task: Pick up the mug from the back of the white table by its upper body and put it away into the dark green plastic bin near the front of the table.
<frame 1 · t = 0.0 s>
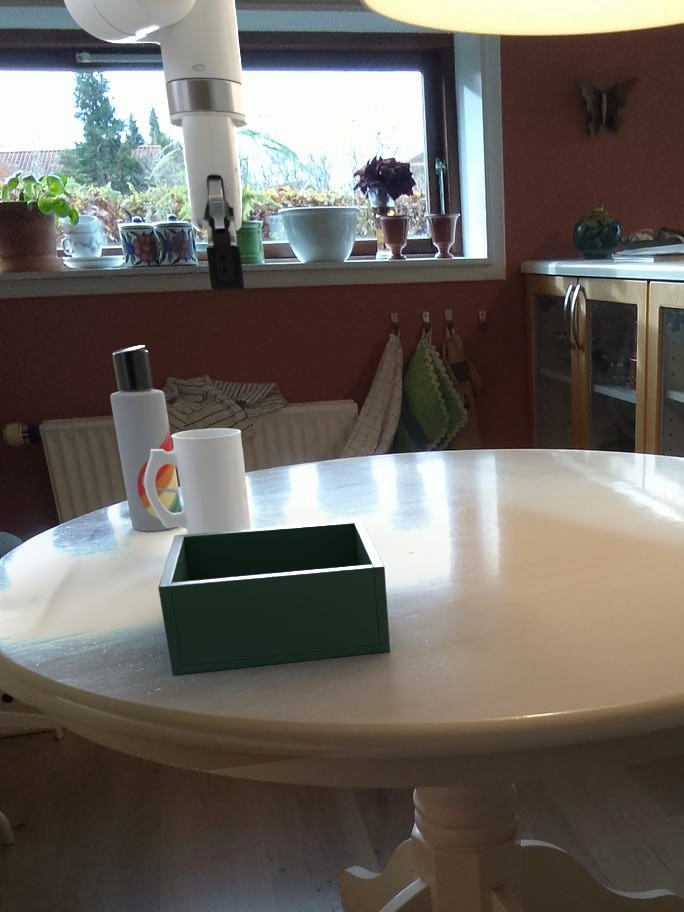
hand: (228, 289, 99), 25 cm above the table, tool pointing down, fingers open, 9 cm apart
lotion bottle: (158, 527, 108), on the table
mug: (206, 551, 97), on the table
bin: (281, 629, 74), on the table
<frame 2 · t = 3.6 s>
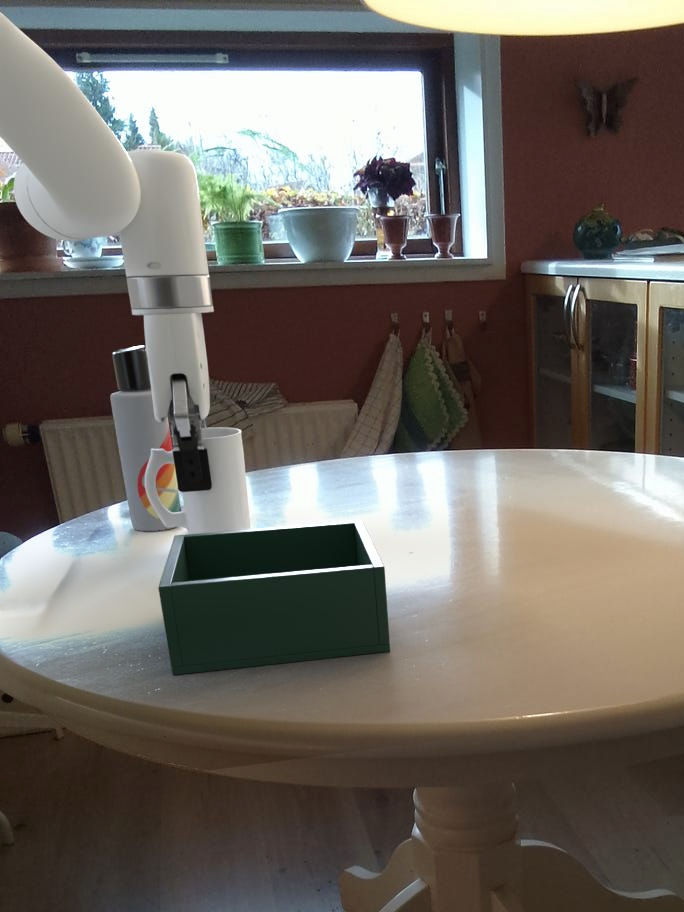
hand: (197, 481, 94), 7 cm above the table, tool pointing down, fingers closed on mug, 6 cm apart
mug: (206, 551, 97), on the table, touching gripper
everything else where it was.
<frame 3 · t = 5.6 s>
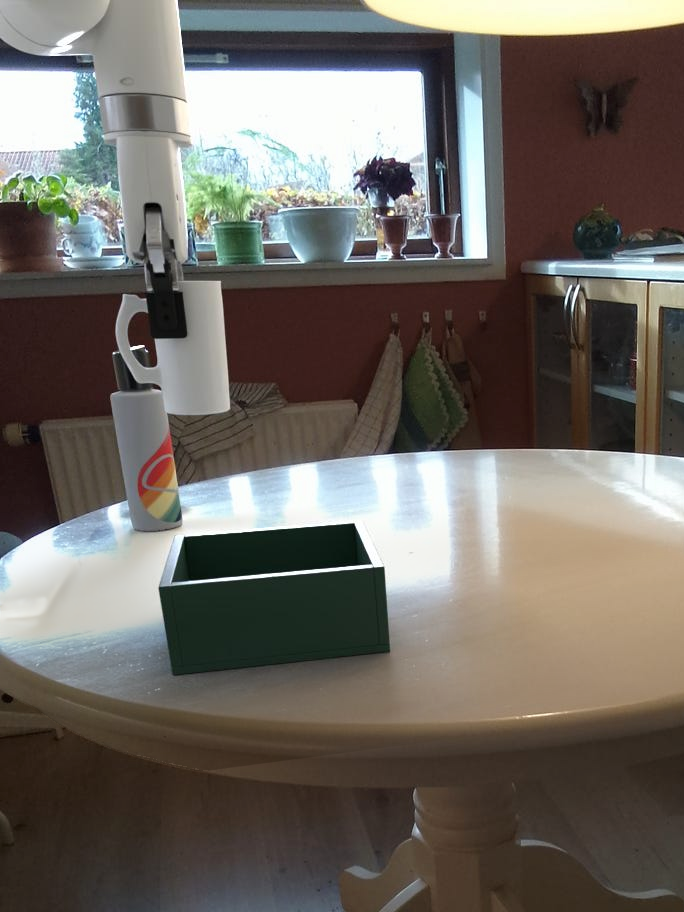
hand: (172, 335, 88), 22 cm above the table, tool pointing down, fingers closed on mug, 6 cm apart
mug: (181, 413, 91), point 14 cm above the table, touching gripper
everything else where it was.
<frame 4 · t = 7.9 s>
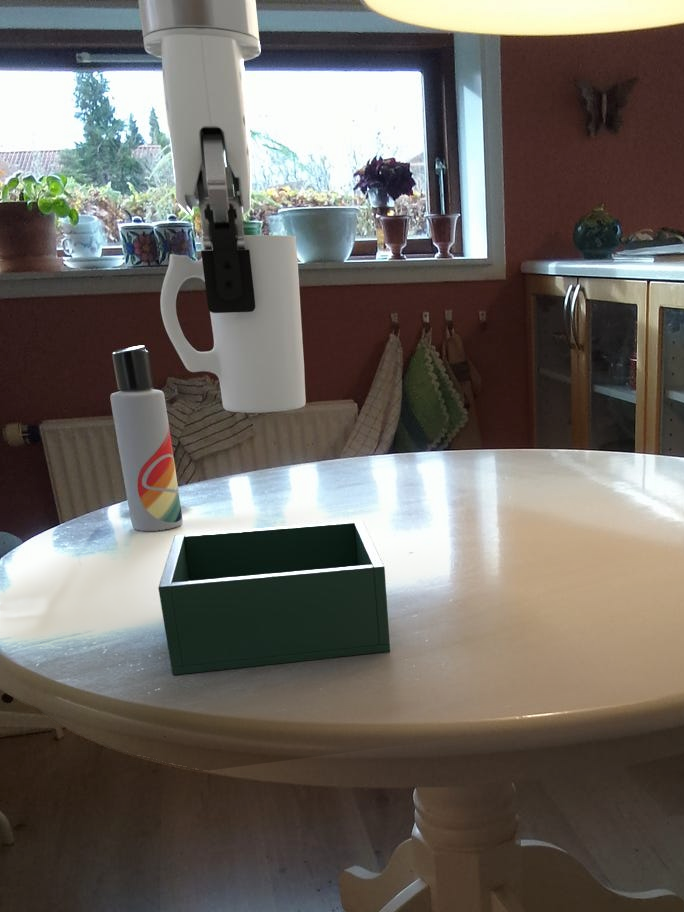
hand: (232, 308, 68), 24 cm above the table, tool pointing down, fingers closed on mug, 6 cm apart
mug: (243, 411, 70), point 17 cm above the table, touching gripper
everything else where it was.
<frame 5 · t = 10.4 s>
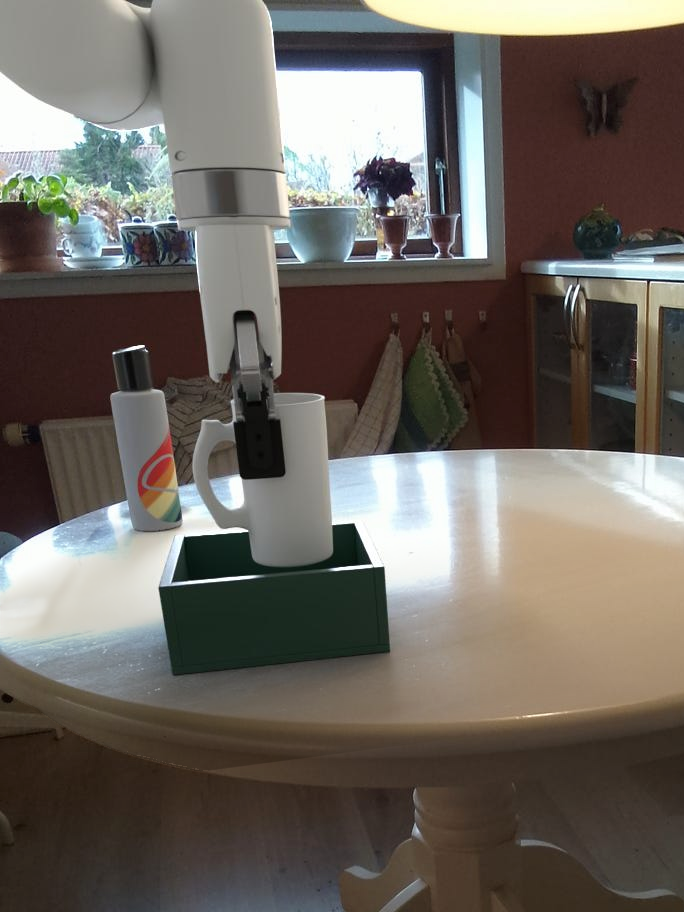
hand: (262, 466, 69), 13 cm above the table, tool pointing down, fingers closed on mug, 6 cm apart
mug: (272, 561, 72), point 6 cm above the table, touching gripper
everything else where it was.
when the fingers open (8 cm above the table, at t = 12.4 s): mug stays where it is, resting on bin.
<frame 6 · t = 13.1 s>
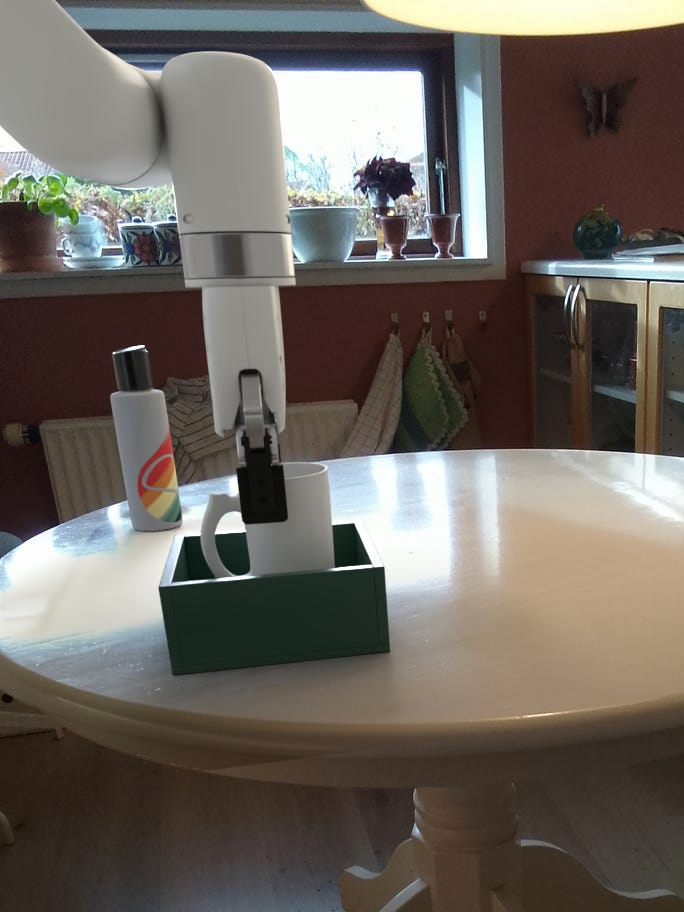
hand: (264, 507, 70), 10 cm above the table, tool pointing down, fingers open, 9 cm apart
mug: (278, 625, 73), resting on bin
everything else where it was.
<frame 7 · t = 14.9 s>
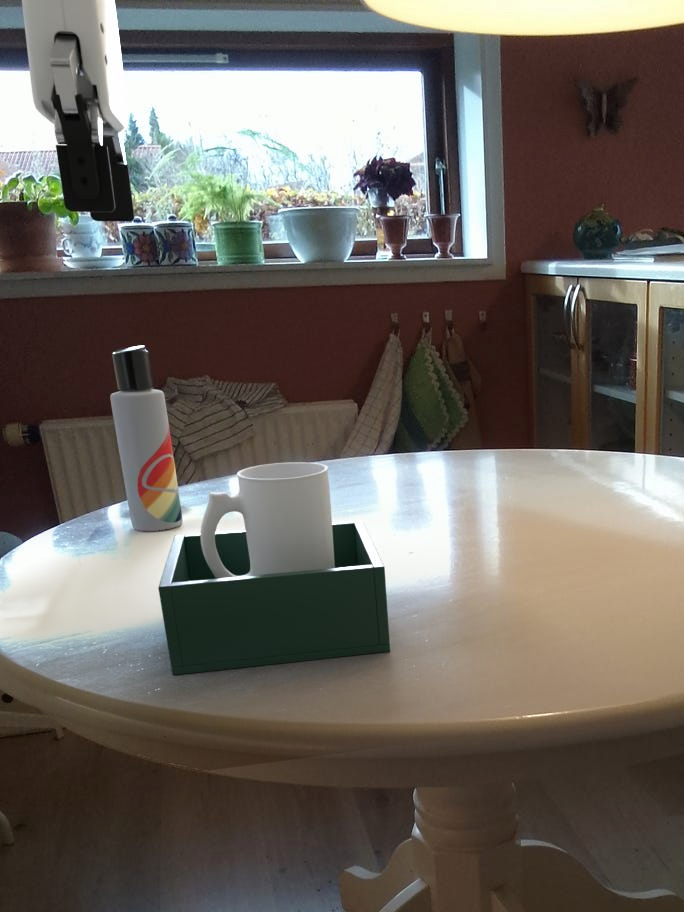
hand: (102, 216, 68), 31 cm above the table, tool pointing down, fingers open, 9 cm apart
nothing on the table moved.
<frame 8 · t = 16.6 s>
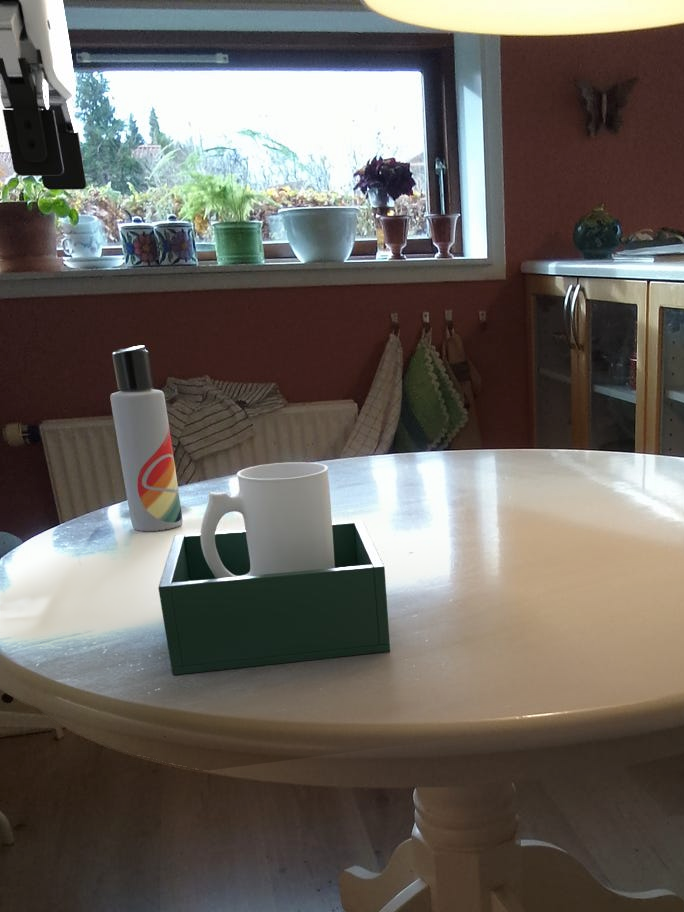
hand: (53, 182, 69), 33 cm above the table, tool pointing down, fingers open, 9 cm apart
nothing on the table moved.
at the end: mug inside the target area in the bin (0.1 cm from its centre), point 0.4 cm above the bin's base; mug tilted 0°; the gripper is holding nothing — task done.
